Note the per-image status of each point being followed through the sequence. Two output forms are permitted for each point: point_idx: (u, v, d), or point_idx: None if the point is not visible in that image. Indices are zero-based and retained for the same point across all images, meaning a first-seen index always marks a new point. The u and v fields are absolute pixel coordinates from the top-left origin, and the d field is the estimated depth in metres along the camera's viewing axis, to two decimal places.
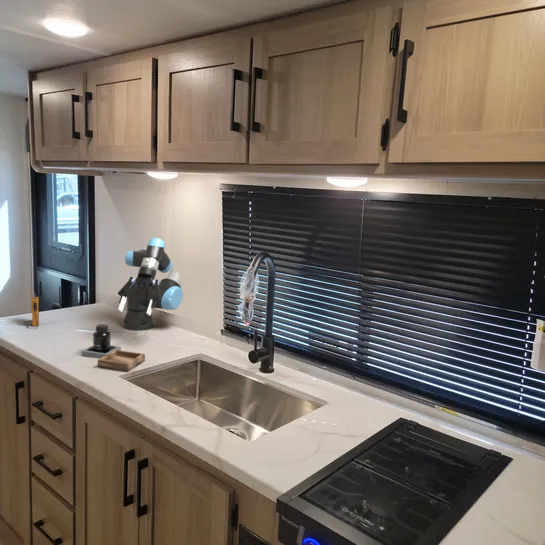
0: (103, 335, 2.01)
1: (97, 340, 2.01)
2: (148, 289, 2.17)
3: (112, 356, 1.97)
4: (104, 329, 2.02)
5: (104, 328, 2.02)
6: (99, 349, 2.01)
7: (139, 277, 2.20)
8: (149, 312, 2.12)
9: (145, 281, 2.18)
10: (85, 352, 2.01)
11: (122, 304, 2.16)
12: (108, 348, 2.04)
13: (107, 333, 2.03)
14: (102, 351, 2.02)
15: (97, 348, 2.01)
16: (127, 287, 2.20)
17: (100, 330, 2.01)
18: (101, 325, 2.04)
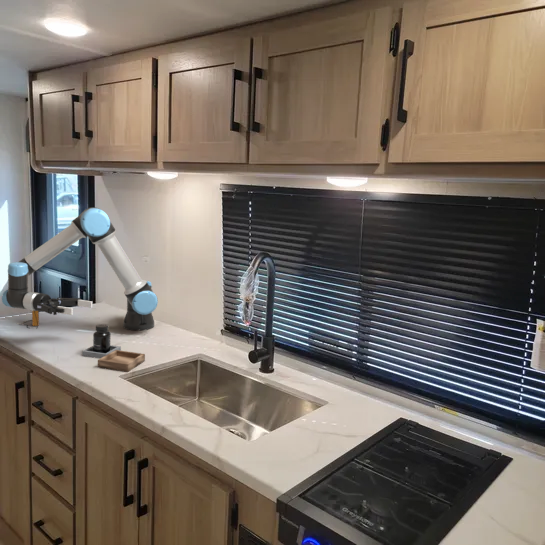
0: (103, 335, 2.01)
1: (97, 340, 2.01)
2: None
3: (112, 356, 1.97)
4: (104, 329, 2.02)
5: (104, 328, 2.02)
6: (99, 349, 2.01)
7: None
8: (69, 312, 1.98)
9: None
10: (85, 352, 2.01)
11: (85, 305, 2.11)
12: (108, 348, 2.04)
13: (107, 333, 2.03)
14: (102, 351, 2.02)
15: (97, 348, 2.01)
16: None
17: (100, 330, 2.01)
18: (101, 325, 2.04)
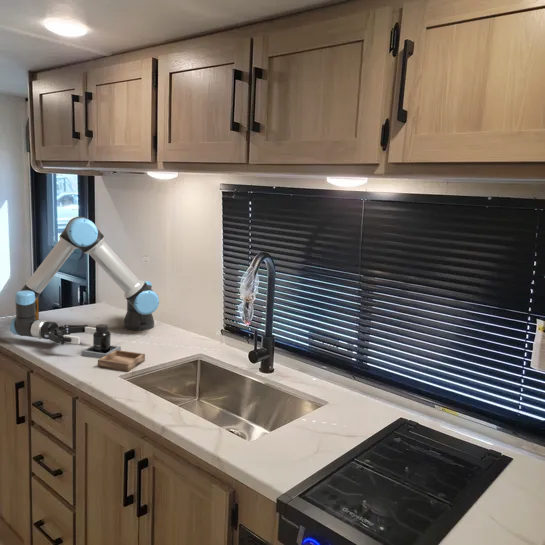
0: (103, 335, 2.01)
1: (97, 340, 2.01)
2: None
3: (112, 356, 1.97)
4: (104, 329, 2.02)
5: (104, 328, 2.02)
6: (99, 349, 2.01)
7: None
8: (76, 341, 1.98)
9: None
10: (85, 352, 2.01)
11: (92, 332, 2.12)
12: (108, 348, 2.04)
13: (107, 333, 2.03)
14: (102, 351, 2.02)
15: (97, 348, 2.01)
16: None
17: (100, 330, 2.01)
18: (101, 325, 2.04)
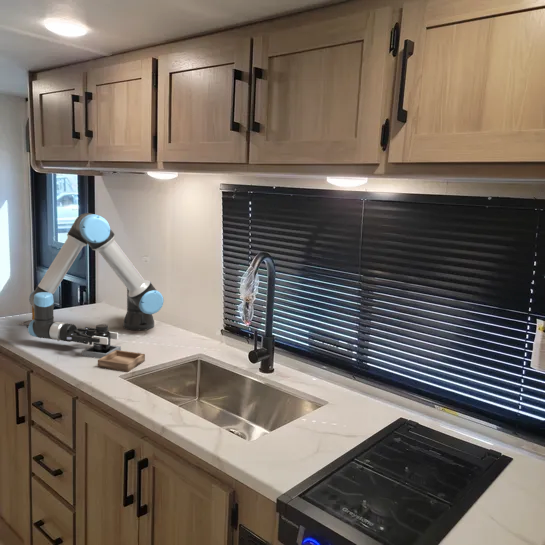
0: (103, 335, 2.01)
1: None
2: None
3: (112, 356, 1.97)
4: (104, 329, 2.02)
5: (104, 328, 2.02)
6: (99, 349, 2.01)
7: None
8: (105, 341, 1.99)
9: None
10: (85, 352, 2.01)
11: None
12: (108, 348, 2.04)
13: (107, 333, 2.03)
14: (102, 351, 2.02)
15: (97, 348, 2.01)
16: None
17: (100, 330, 2.01)
18: (101, 325, 2.04)
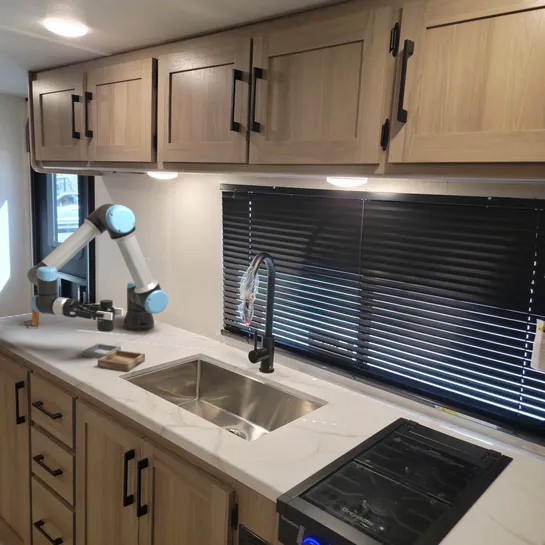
0: (107, 310, 1.94)
1: None
2: None
3: (112, 356, 1.97)
4: (108, 304, 1.94)
5: (108, 303, 1.94)
6: (103, 325, 1.94)
7: None
8: (109, 317, 1.92)
9: None
10: (85, 352, 2.01)
11: (115, 312, 1.99)
12: (112, 324, 1.96)
13: (111, 308, 1.95)
14: (106, 327, 1.94)
15: (101, 324, 1.94)
16: None
17: (104, 305, 1.94)
18: (105, 300, 1.96)
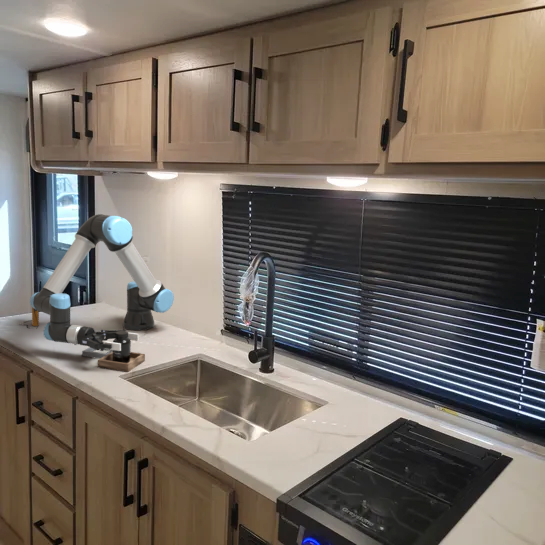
0: (123, 342, 1.90)
1: None
2: None
3: None
4: (124, 336, 1.91)
5: (124, 335, 1.91)
6: (118, 358, 1.90)
7: None
8: (117, 347, 1.85)
9: None
10: (85, 352, 2.01)
11: (131, 337, 1.99)
12: (128, 356, 1.93)
13: (127, 340, 1.92)
14: (122, 359, 1.91)
15: (117, 357, 1.90)
16: None
17: (120, 337, 1.90)
18: (121, 332, 1.93)
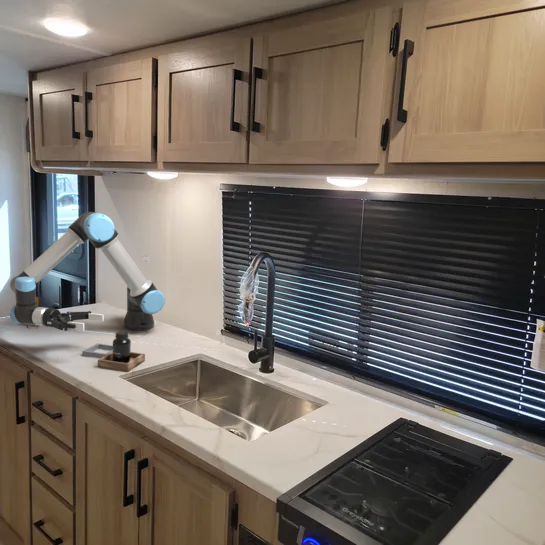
0: (123, 342, 1.90)
1: (117, 348, 1.90)
2: None
3: None
4: (124, 336, 1.91)
5: (124, 335, 1.91)
6: (118, 358, 1.90)
7: None
8: (81, 327, 1.91)
9: None
10: (85, 352, 2.01)
11: (96, 318, 2.04)
12: (128, 356, 1.93)
13: (127, 340, 1.92)
14: (122, 359, 1.91)
15: (117, 357, 1.90)
16: None
17: (120, 337, 1.90)
18: (121, 332, 1.93)
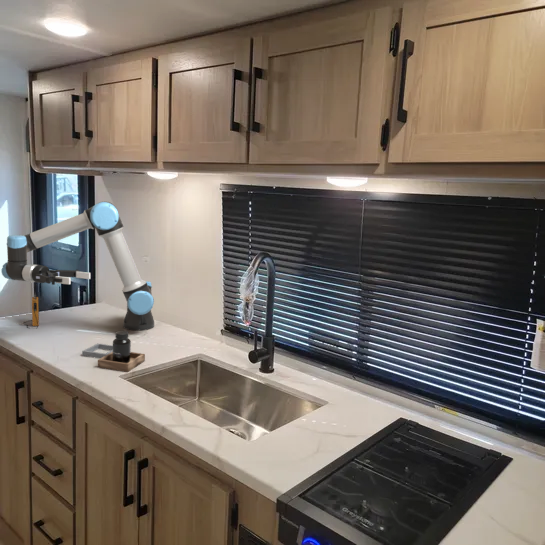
0: (123, 342, 1.90)
1: (117, 348, 1.90)
2: None
3: None
4: (124, 336, 1.91)
5: (124, 335, 1.91)
6: (118, 358, 1.90)
7: None
8: (67, 281, 2.00)
9: None
10: (85, 352, 2.01)
11: (83, 276, 2.14)
12: (128, 356, 1.93)
13: (127, 340, 1.92)
14: (122, 359, 1.91)
15: (117, 357, 1.90)
16: None
17: (120, 337, 1.90)
18: (121, 332, 1.93)
